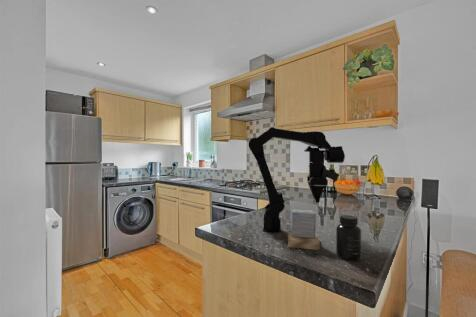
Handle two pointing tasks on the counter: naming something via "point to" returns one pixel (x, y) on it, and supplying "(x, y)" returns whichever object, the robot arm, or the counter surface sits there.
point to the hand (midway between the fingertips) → (316, 200)
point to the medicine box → (303, 223)
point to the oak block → (303, 242)
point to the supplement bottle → (348, 238)
